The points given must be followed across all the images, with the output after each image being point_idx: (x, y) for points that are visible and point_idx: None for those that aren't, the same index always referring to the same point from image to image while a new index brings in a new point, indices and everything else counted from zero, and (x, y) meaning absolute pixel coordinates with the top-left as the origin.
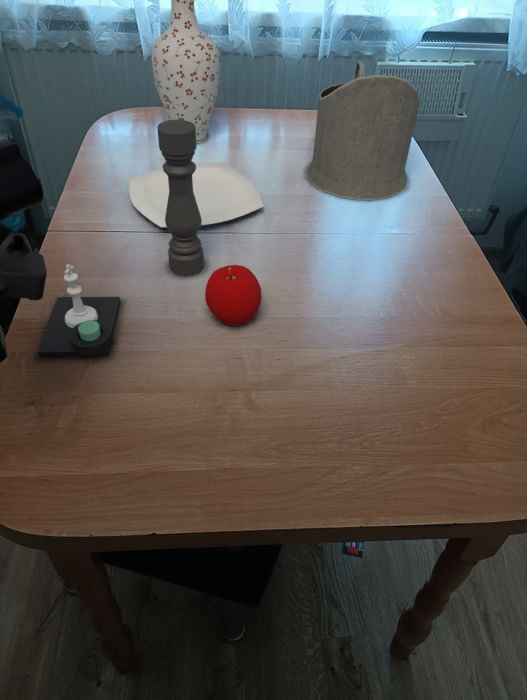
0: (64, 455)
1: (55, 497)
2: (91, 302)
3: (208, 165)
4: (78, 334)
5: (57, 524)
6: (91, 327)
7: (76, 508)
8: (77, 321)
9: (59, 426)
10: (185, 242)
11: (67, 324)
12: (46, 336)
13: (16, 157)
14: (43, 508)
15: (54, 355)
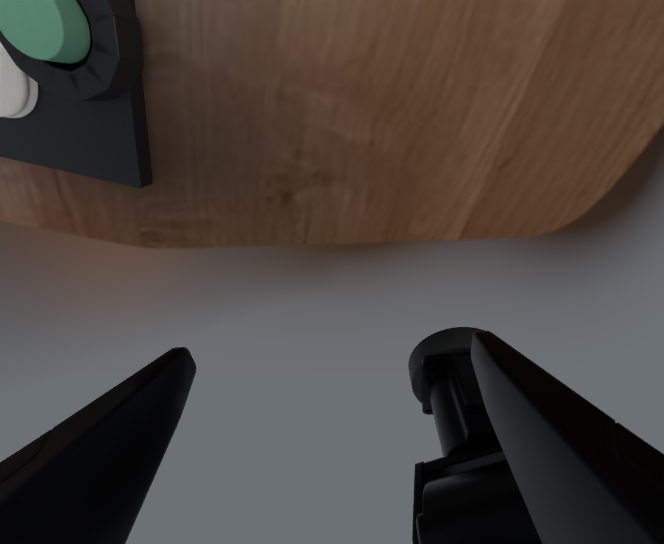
0: (454, 125)
1: (558, 146)
2: None
3: None
4: (64, 68)
5: (629, 142)
6: (24, 1)
7: (617, 98)
8: (7, 74)
9: (366, 137)
10: None
11: (27, 110)
12: (85, 168)
13: None
14: (571, 171)
15: (144, 148)
